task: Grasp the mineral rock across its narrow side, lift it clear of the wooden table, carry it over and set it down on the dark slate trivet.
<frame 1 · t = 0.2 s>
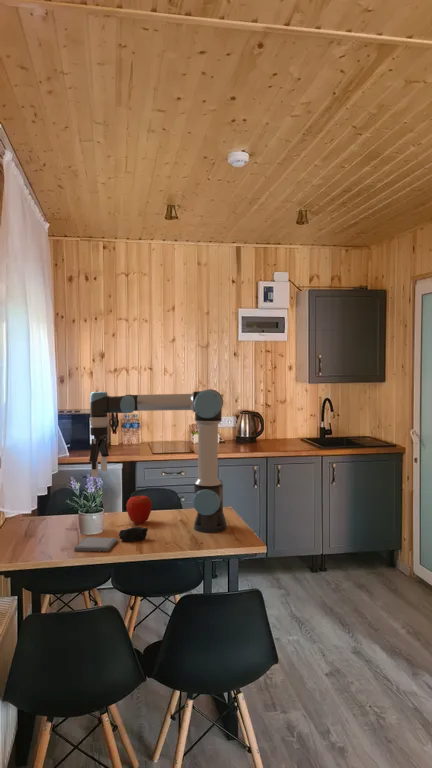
hand: (99, 473, 250), 27 cm above the table, fingers open, 13 cm apart
slate trivet: (96, 546, 234), on the table
mineral: (133, 539, 244), on the table
apple: (139, 523, 269), on the table
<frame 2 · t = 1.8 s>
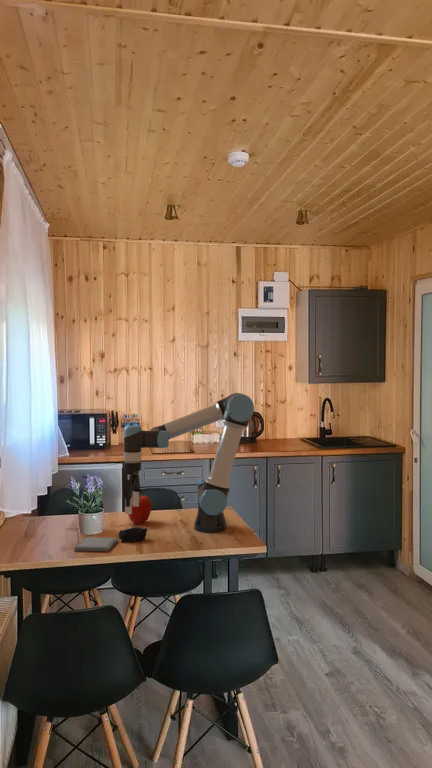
hand: (132, 510, 243), 13 cm above the table, fingers open, 13 cm apart
nothing on the table moved.
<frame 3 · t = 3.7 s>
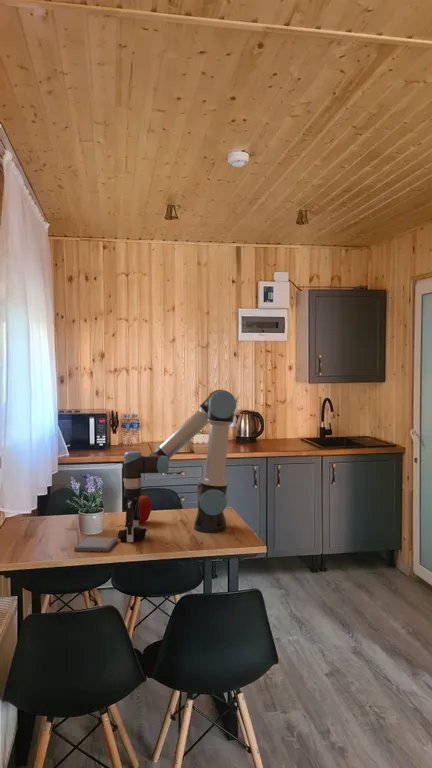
hand: (132, 538, 244), 0 cm above the table, fingers open, 9 cm apart
nothing on the table moved.
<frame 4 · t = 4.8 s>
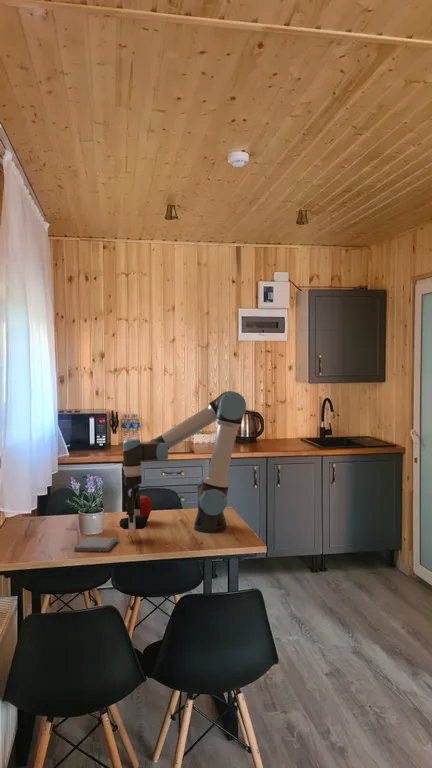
hand: (134, 526, 244), 5 cm above the table, fingers closed on mineral, 8 cm apart
mineral: (134, 528, 244), point 5 cm above the table, touching gripper
everything else where it was.
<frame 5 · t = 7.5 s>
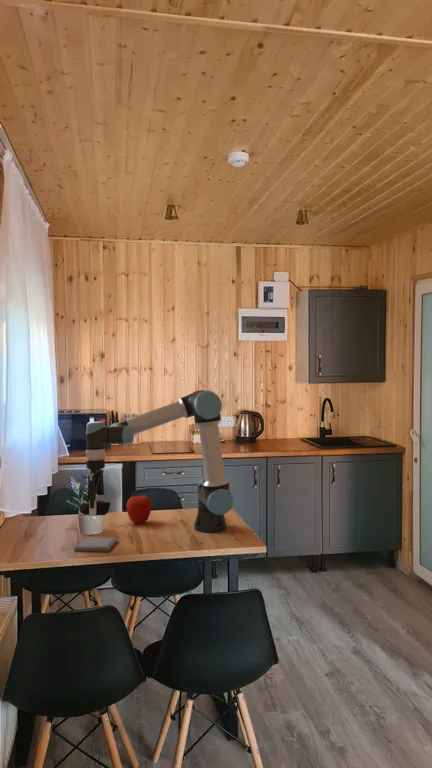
hand: (96, 513, 234), 14 cm above the table, fingers closed on mineral, 8 cm apart
mineral: (95, 514, 234), point 13 cm above the table, touching gripper
everything else where it was.
when the fingers open (3 cm above the table, at t = 10.2 s): mineral stays where it is, resting on slate trivet.
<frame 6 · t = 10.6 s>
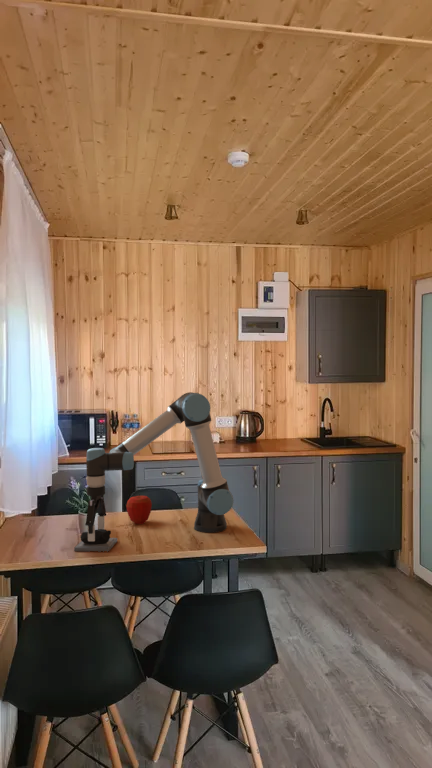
hand: (96, 536, 234), 4 cm above the table, fingers open, 13 cm apart
mineral: (96, 542, 234), point 1 cm above the table, touching slate trivet
everything else where it was.
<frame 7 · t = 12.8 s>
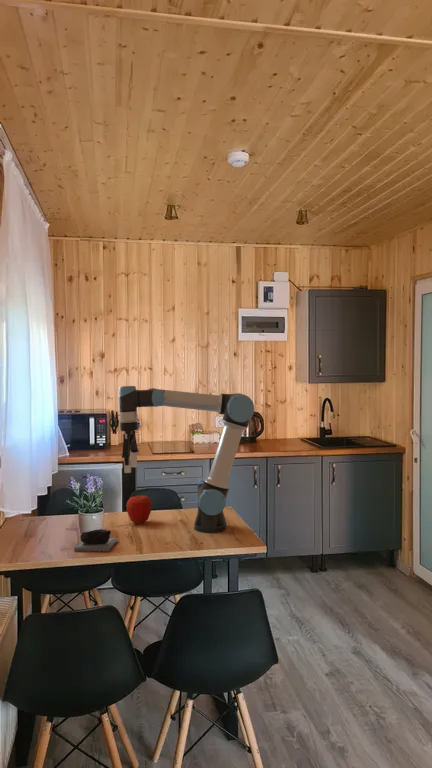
hand: (131, 469, 244), 30 cm above the table, fingers open, 13 cm apart
nothing on the table moved.
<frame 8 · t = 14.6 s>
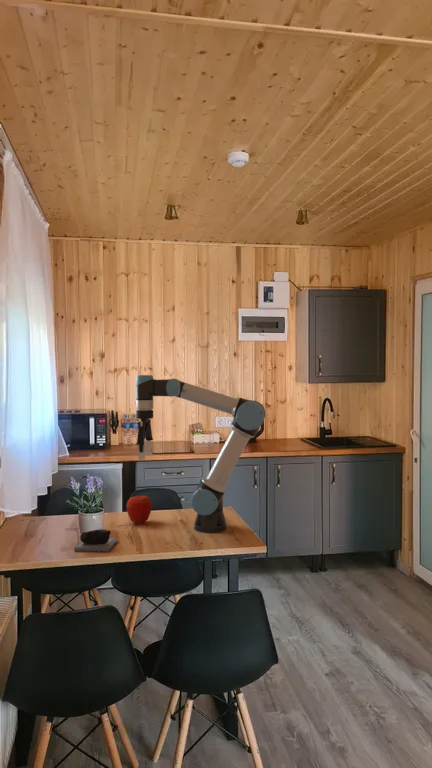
hand: (145, 457, 249), 35 cm above the table, fingers open, 13 cm apart
nothing on the table moved.
at the end: mineral 0.3 cm from the slate trivet (horizontally); mineral touching slate trivet; the gripper is holding nothing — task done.
